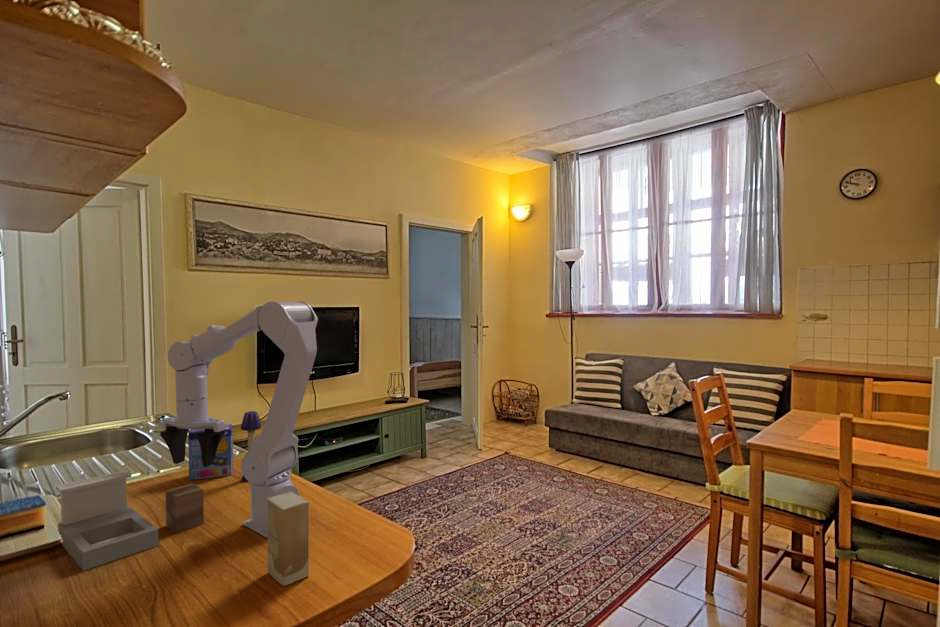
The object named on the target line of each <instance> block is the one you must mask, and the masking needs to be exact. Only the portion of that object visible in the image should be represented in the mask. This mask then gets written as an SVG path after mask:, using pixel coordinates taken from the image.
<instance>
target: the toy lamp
mask: <svg viewBox="0 0 940 627" xmlns="http://www.w3.org/2000/svg"><path fill="white" fill-rule="evenodd" d="M261 428H262V423H261V419H260V416H259V413H258V411H253V410H251V411H246V412H244V415H243V418H242V421H241V425H240V430H241V431H245V432H247V452H248V451H249V449H250V447H251V443H252V442H253V441H254V440H255V439H256V435H255V433H256V430H259V429H260V430H261ZM241 480H242V481H243V482H248V480H247V479H246V478H245V477H244V475H243V474H242V477H241Z"/></svg>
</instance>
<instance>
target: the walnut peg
mask: <svg viewBox="0 0 940 627" xmlns="http://www.w3.org/2000/svg"><path fill="white" fill-rule="evenodd" d="M204 511H205V510H204V488H202V487H200V486H199V485H197V484H194V483H193V482H192V483H189V484H184V485H182V486H178V487H174V488H170V489H168V490H167V489H166V490H165V518H166V520H165V523H166V524H165V525H166V527H168V528H169V529H170V530H172V532H174V533H176V534H178V533H181V532H183V531H187V530H190V529H193V528H196V527H198V526H202V525H204V524H205V518H204V517H205V516H204Z"/></svg>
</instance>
